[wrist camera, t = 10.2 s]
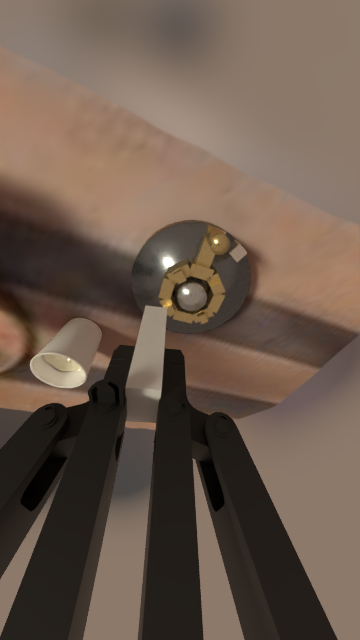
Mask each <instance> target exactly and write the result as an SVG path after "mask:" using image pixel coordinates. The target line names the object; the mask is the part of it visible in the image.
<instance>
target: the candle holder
mask: <svg viewBox="0 0 360 640" xmlns="http://www.w3.org/2000/svg"><path fill="white" fill-rule="evenodd" d="M101 339H102V331H101V329H100V328H99V326H98V325H97V324H96V323H94V322H93V321H91V320H88V319H85V318H74V319H71V320H70V321H68V322H67V323H66V324H65V325H64V326H63V327H62V328H61V329H60V330H59V331H58V332H57V333H56V335H55V336H54V337H53V338H52V339H51V340H50V341H49V342H48V343H47V344H46V345H45V346H44V347H43V348H42V349H41V351H40V352H39V353H38V354H37V355H36V356H34V357H33V358H32V360H31V362H30V368H31V371H32V372H33V374H34V375H35V376H36V377H37V378H38V379H40V380H41V381H43V382H45V383H47V384H49V385H52V386H55V387H60V388H74V387H78V386H80V385H82V384H83V383H84V382H85V381H86V379H87V375H88V373H89V370H90V368H91V365H92V362H93V360H94V357H95V355H96V352H97V350H98V347H99V344H100V342H101Z"/></svg>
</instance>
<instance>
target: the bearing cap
mask: <svg viewBox="0 0 360 640" xmlns="http://www.w3.org/2000/svg"><path fill="white" fill-rule="evenodd" d="M207 225H210V226H213V227H216V228H219V229H221V228H220V227H218V226H216V225H214V224H211V223H208V222H204V221H197V220H186V221H180V222H175V223H173V224H170V225H167V226H165V227H164V228H162V229H160V230H159V231H157V232H156V233H154V234H153V235H152V236H151V237H150V238H149V239H148V240H147V241H146V243H145V244H144V245H143V247H142V249H141V250H140V252H139V254H138V256H137V258H136V260H135V263H134V265H133V270H132V277H131V285H132V291H133V295H134V298H135V301H136V303H137V305H138V307H139V308H140V310H141V311H142V313H143V314H144V310H145V306H155V307H163V306H162V305H161V303H160V302H159V299H160V298H158V297H159V291H160V287H161V283H162V280H163V276H164V272H167V268H169V267H170V266H172V265H174V264H176V263H178V262H180V261H182V260H184V259H186V258H187V260H188V262H190V259H191V258H194V259H195V258H196V255H197V252H198V249H199V246H200V244H201V241H202V238H203V235H204V232H205V229H206V227H207ZM221 230H223V229H221ZM223 231H224V234H225V235H226V236H227V237H228V239H229V240H230V247H229V249H228V251H227V252H226V253H224V254H222V255H217V254H215V256H214V259H213V261H212V263H211V264H212V266H213V267H215V268H216V270H217V273H218V275H219V277H220V280H221V282H222V284H223V287H224V289H225V291H226V292H224V293H225V298H224V300H223V302H222V304H221V306H220V308H219V309H218V311H217V313H215V312H213V315H214V316H212V317H209V318H208V322H206V323H204V324H201V322H197V323H195V321H194V320H193V321H192V324H191V323H187V322H183V321H179V320H175V319H173V316H170V317H169V315H167V317H166V330H169V331H172V332H176V333H184V334H194V333H201V332H205V331H208V330H211V329H214V328H216V327H218V326H220V325H222V324H223V323H225V322H226V321H228V320H229V319H230V318H231V317H232V316H233V315H234V314H235V313H236V312H237V311H238V310H239V309H240V307H241V306H242V304H243V302H244V300H245V298H246V296H247V293H248V290H249V286H250V266H249V262H248V259H247V257H246V254H247V251H246V250H245V249H244V248H243V247H242V245H241V244H240V243H239V242H238V241H237V240H235V239H234V238H233V237H232V236H231V235H229V234H228V233H227V232H226V231H225V230H223ZM186 280H187V281H185V282H182V283H180V284H178V282H177V283H175V285H174V288H173V291H172V294H173V295H174V297H175V299H176V300H177V302H178V303H179V305H180V306H181V307H182V308H183V309H185V310H188V311H195V310H198V309H200V308H202V307H203V306H204V305H205V303H206V301H207V296H208V293H209V291H210V289H211V288H210V285H209V283H208V281H206V280H203V279H200V278H196V277H193V276H190V277H187V278H186Z"/></svg>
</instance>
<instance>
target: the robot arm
mask: <svg viewBox="0 0 360 640" xmlns="http://www.w3.org/2000/svg"><path fill="white" fill-rule="evenodd" d="M166 317H167V308H164V307H155V306H145V310H144V314H143V318H142V322H141V326H140V330H139V334H138V338H137V342H136V346H126V345H120V346H119V347H118V348H117V349H116V350H115V351H114V352H113V355H112V358H111V361H110V363H109V366H108V369H107V371H106V374H105V377H104V379H103V380H100V381H98V382H96V383H95V384H93V385H92V386H91V387H90V389H89V390H88V395H89V400H90V401H88V402H86V403H83V404H80V405H76V406H72V407H67V408H66V407H65V406H63V405H62V404H59V403H51V404H47V405H45V406H43V407H41V408H39V409H37V410H36V411H35V412H34V413H33V414H32V415H31V416H30V417H29V418H28V419H27V420H26V421H25V423H24V424H23V425H22V426H21V427H20V428H19V429H18V430H17V432H16V433H15V434H14V435H13V436H12V437H11V438H10V439H9V440H8V441H7V443H6V444H5V445H4V446H3V447H2V448H1V449H0V578H1V577H2V575H3V574H4V572H5V570H6V568H7V567H8V565H9V563H10V562H11V560H12V558H13V557H14V555H15V553H16V552H17V550H18V548H19V547H20V545H21V543H22V542H23V540H24V538H25V537H26V535H27V533H28V532H29V530H30V528H31V527H32V525H33V523H34V522H35V520H36V518H37V516H38V515H39V513H40V512H41V510H42V508H43V507H44V505H45V503H46V501H47V500H48V498H49V496H50V495H51V493H52V491H53V490H54V488H55V486H56V484H57V483H58V481H59V480H60V478H61V476H62V475H63V476H62V478H61V481H60V483H59V486H58V489H57V491H56V494H55V496H54V499H53V502H52V504H51V507H50V510H49V512H48V514H47V517H46V520H45V523H44V525H43V527H42V530H41V533H40V535H39V538H38V540H37V543H36V546H35V548H34V551H33V553H32V556H31V559H30V561H29V564H28V567H27V569H26V571H25V574H24V577H23V579H22V582H21V585H20V587H19V590H18V592H17V595H16V598H15V600H14V603H13V605H12V608H11V610H10V613H9V616H8V618H7V621H6V623H5V626H4V629H3V631H2V634H1V636H0V640H83V636H84V631H85V626H86V621H87V616H88V611H89V606H90V601H91V595H92V591H93V586H94V581H95V576H96V571H97V566H98V561H99V556H100V552H101V546H102V541H103V536H104V532H105V527H106V521H107V517H108V512H109V507H110V502H111V497H112V492H113V487H114V482H115V477H116V472H117V467H118V462H119V457H120V452H121V448H122V443H123V438H124V427H125V422H126V421H133V422H152V423H156V432H155V438H154V452H153V464H152V476H151V488H150V501H149V513H148V525H147V537H146V548H145V560H144V573H143V584H142V596H141V608H140V621H139V632H138V640H203V626H202V609H201V592H200V577H199V576H200V575H199V559H198V543H197V526H196V510H195V493H194V476H193V460H192V458H194V459H195V460H196V464H197V467H198V471H199V474H200V478H201V482H202V485H203V489H204V493H205V496H206V500H207V504H208V507H209V511H210V515H211V518H212V521H213V526H214V529H215V533H216V537H217V540H218V544H219V548H220V551H221V555H222V559H223V562H224V566H225V569H226V573H227V577H228V581H229V584H230V588H231V591H232V595H233V599H234V602H235V606H236V609H237V613H238V617H239V621H240V624H241V628H242V632H243V635H244V639H245V640H337V637H336V635H335V633H334V631H333V629H332V627H331V625H330V623H329V621H328V618H327V617H326V614H325V612H324V610H323V608H322V606H321V604H320V601H319V600H318V597H317V595H316V593H315V591H314V589H313V587H312V585H311V582H310V581H309V578H308V576H307V574H306V572H305V570H304V568H303V566H302V564H301V561H300V559H299V557H298V555H297V553H296V551H295V549H294V547H293V545H292V542H291V540H290V538H289V536H288V534H287V532H286V530H285V528H284V525H283V524H282V521H281V519H280V517H279V515H278V513H277V511H276V509H275V506H274V504H273V502H272V500H271V498H270V496H269V494H268V492H267V490H266V488H265V485H264V484H263V481H262V479H261V477H260V475H259V473H258V471H257V468H256V466H255V464H254V462H253V460H252V458H251V456H250V454H249V452H248V449H247V447H246V445H245V443H244V441H243V439H242V437H241V435H240V433H239V430H238V428H237V426H236V424H235V423H234V421H233V420H232V419H231V418H230V417H229V416H228V415H226V414H224V413H221V412H215V413H213V414H211V415H208V414H205V413H203V412H200V411H198V410H196V409H195V408H194V407H192V406H191V404H190V403H189V402H188V399H187V396H186V380H185V361H184V355H183V354H182V352H181V350H175V349H164V347H165V332H166Z"/></svg>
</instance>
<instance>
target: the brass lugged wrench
mask: <svg viewBox="0 0 360 640" xmlns="http://www.w3.org/2000/svg"><path fill="white" fill-rule="evenodd" d="M229 247H230V240H229V239H228V237H227V236H226V235H225V234H224V231H223V230H221V229H219V228H216V227H213V226H210V225H207V227H206V229H205V232H204V235H203V238H202V241H201V244H200V246H199V249H198V252H197V255H196V258H195V259H194V258H191V259H190V262H188V260H187V258H186V259H184V260H182V261H180V262H178V263H176V264H174V265H172V266H170V267H169V268H167V272H164V276H163V280H162V283H161V287H160V291H159V297H158V298H160V299H159V302H160V303H161V305H162V306H163V307H164V308H167V315H169V317H170V316H173V319H175V320H179V321H183V322H187V323H191V324H192V321H193V320H194V321H195V323H197V322H201V324H204V323H206V322H208V318H209V317H212V316H214V315H213V312H215V313H217V311H218V309H219V308H220V306H221V304H222V302H223V300H224V298H225V293H224V292H226V291H225V289H224V287H223V284H222V282H221V280H220V277H219V275H218V273H217V270H216V268H215V267H213V266H212V264H211V263H212V261H213V259H214V256H215V254H217V255H222V254H224V253H226V252H227V251H228V249H229ZM190 276H193V277H196V278H200V279H203V280H206V281H208V283H209V285H210V288H211V289H210V291H209V293H208V296H207V301H206V303H205V305H204V306H203V307H202V308H200V309H198V310H195V311H188V310H185V309H183V308H182V307H181V306H180V305H179V303H178V302H177V300H176V299H175V297H174V295H173V294H172V291H173V288H174V285H175V283H177V282H178V284H180V283H182V282H185V281H187V280H186V278H187V277H190Z"/></svg>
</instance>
